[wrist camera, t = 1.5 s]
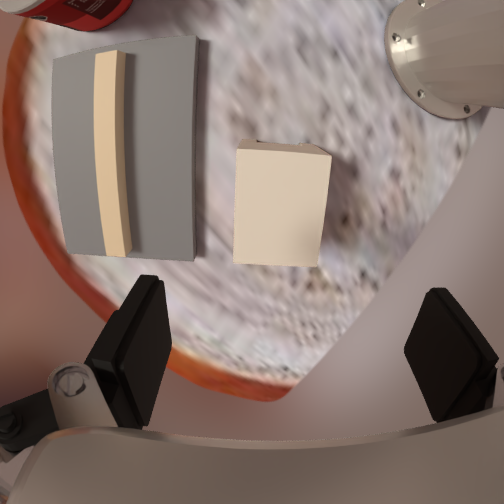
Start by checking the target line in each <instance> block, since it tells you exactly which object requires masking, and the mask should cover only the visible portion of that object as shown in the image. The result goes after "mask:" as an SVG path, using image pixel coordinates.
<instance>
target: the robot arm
mask: <svg viewBox="0 0 504 504" xmlns="http://www.w3.org/2000/svg"><path fill="white" fill-rule="evenodd" d="M392 37H393V38H394V40H393V39H392ZM384 42H385V50H386V55H387V58H388V62H389V65H390V67H391V69H392V71H393V74H394V76H395V78H396V79H397V81H398V82H399V84H400V86H401V87H402V89H403V90H404V91H405V92H406V93H407V94H408V96H409V97H410V98H411V99H412V100H413V101H414V102H416V103H417V104H418V105H419V106H420V107H422V108H423V109H425V110H426V111H428V112H429V113H432V114H434V115H437V116H439V117H444V118H450V119H462V118H467V117H469V116H471V115H473V114H475V113H476V112H477V111H479V110H480V109H481V108H482V106H488V107H496V108H503V109H504V0H405V1H403V2H402V3H400V4H399V5H398V6H397V7H396V8H394V9H393V10H392V12H391V14H390V16H389V17H388V19H387V23H386V26H385V35H384ZM417 92H418V93H419V96H418V94H417ZM171 347H172V339H171V332H170V326H169V318H168V311H167V303H166V295H165V287H164V282H163V280H159V278H158V276H155V275H140V276H139V278H138V279H137V281H136V283H135V284H134V286H133V287H132V289H131V291H130V292H129V294H128V296H127V297H126V299H125V301H124V302H123V304H122V305H121V307H120V309H119V310H116V311H114V312H113V314H112V315H111V317H110V318H109V320H108V322H107V323H106V325H105V327H104V329H103V330H102V332H101V334H100V335H99V337H98V339H97V341H96V342H95V344H94V346H93V348H92V349H91V351H90V353H89V355H88V357H87V358H86V360H85V362H84V364H82V363H79V362H70V363H65V364H63V365H61V366H59V367H57V368H56V369H55V370H54V371H53V372H52V373H51V375H50V376H49V379H48V389H46V390H43V391H41V392H38V393H35V394H33V395H30V396H28V397H25V398H23V399H20V400H18V401H15V402H13V403H10V404H7V405H4V406H2V407H1V408H0V504H504V363H502V364H500V366H499V367H498V368H497V369H496V367H495V364H496V363H497V361H498V360H499V357H498V356H497V354H496V353H495V352H494V350H493V349H492V347H491V346H490V344H489V343H488V342H487V340H486V339H485V337H484V336H483V335H482V333H481V332H480V331H479V329H478V328H477V326H476V325H475V324H474V322H473V321H472V320H471V318H470V317H469V316H468V315H467V313H466V312H465V311H464V309H463V308H462V307H461V306H460V304H459V303H458V302H457V301H456V299H455V298H454V297H453V296H452V294H450V292H449V291H448V290H447V289H446V288H432V289H430V291H429V292H427V293H426V295H425V298H424V301H423V303H422V306H421V308H420V311H419V313H418V316H417V318H416V321H415V323H414V325H413V328H412V330H411V333H410V335H409V337H408V339H407V342H406V344H405V346H404V354H405V356H406V358H407V361H408V363H409V365H410V367H411V369H412V372H413V374H414V376H415V378H416V381H417V382H418V385H419V387H420V390H421V392H422V394H423V396H424V399H425V401H426V404H427V406H428V409H429V411H430V413H431V416H432V418H433V420H434V421H436V422H437V423H435V424H431V425H426V426H422V427H416V428H412V429H406V430H400V431H395V432H389V433H382V434H375V435H367V436H359V437H350V438H338V439H325V440H305V441H248V440H246V441H245V440H228V439H216V438H204V437H193V436H184V435H175V434H168V433H162V432H154V431H146V430H142V427H143V426H148V424H149V421H150V418H151V414H152V411H153V407H154V404H155V401H156V397H157V394H158V390H159V387H160V384H161V381H162V377H163V374H164V371H165V368H166V364H167V361H168V358H169V355H170V352H171Z"/></svg>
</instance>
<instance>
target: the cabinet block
mask: <svg viewBox="0 0 504 504" xmlns="http://www.w3.org/2000/svg"><path fill="white" fill-rule="evenodd" d="M331 159H332V156H331V155H330V154H328V153H326V152H325V151H323V150H322V149H320V148H318V147H317V146H315V145H314V144H306V143H299V145H290V144H276V143H261V142H257V140H251V139H242V141H241V142H240V144H239V146H238V148H237V157H236V184H235V215H234V251H233V263H241V264H260V265H280V266H301V267H317V263H318V256H319V250H320V244H321V237H322V230H323V223H324V216H325V209H326V201H327V194H328V186H329V177H330V168H331Z"/></svg>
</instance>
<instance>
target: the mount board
mask: <svg viewBox="0 0 504 504" xmlns="http://www.w3.org/2000/svg"><path fill="white" fill-rule="evenodd" d="M198 54H199V38H198V37H197V35H187V36H174V37H164V38H155V39H147V40H140V41H133V42H127V43H121V44H115V45H110V46H105V47H100V48H96V49H91V50H87V51H83V52H79V53H75V54H71V55H68V56H64V57H61V58H57V59H54V60H53V72H52V140H53V156H54V167H55V177H56V186H57V194H58V201H59V208H60V214H61V221H62V226H63V232H64V237H65V242H66V247H67V252H68V253H70V254H84V255H99V256H114V257H129V258H144V259H161V260H177V261H194V259H195V257H196V218H195V131H196V96H197V73H198Z"/></svg>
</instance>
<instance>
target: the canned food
mask: <svg viewBox="0 0 504 504" xmlns="http://www.w3.org/2000/svg"><path fill="white" fill-rule="evenodd" d="M132 2H133V0H0V9H2V10H3V11H5V12H8V13H11V14H15V15H19V16H23V17H28V18H32V19H37V20H41V21H45V22H49V23H52V24H56V25H60V26H63V27H67V28H70V29H74V30H77V31H91V30H97V29H100V28H103V27H105V26H107V25H109V24H111V23H113V22H114V21H116V20H117V19H118V18H119V17H121V16H122V15H123V14H124V13H125V11H126V10H127V9H128V8H129V6H130V5H131V4H132Z"/></svg>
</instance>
